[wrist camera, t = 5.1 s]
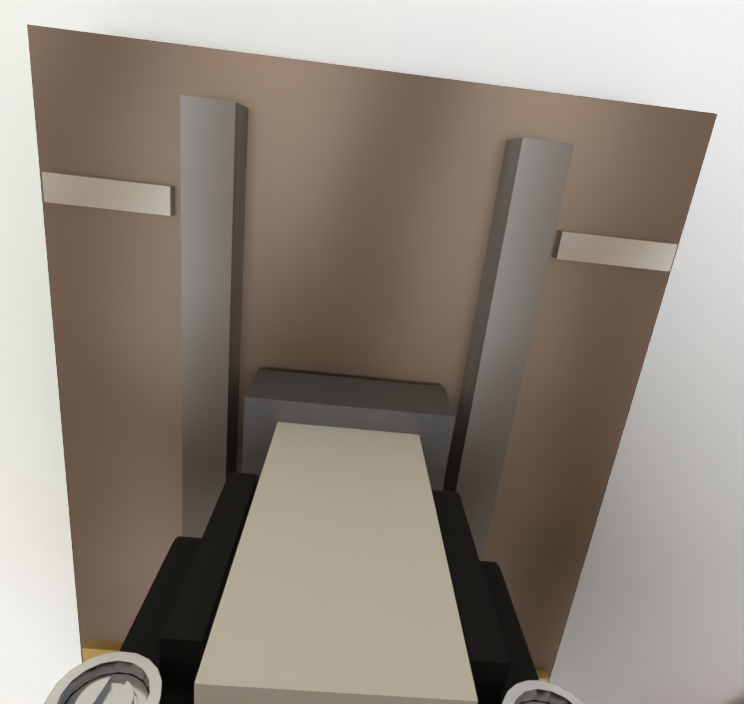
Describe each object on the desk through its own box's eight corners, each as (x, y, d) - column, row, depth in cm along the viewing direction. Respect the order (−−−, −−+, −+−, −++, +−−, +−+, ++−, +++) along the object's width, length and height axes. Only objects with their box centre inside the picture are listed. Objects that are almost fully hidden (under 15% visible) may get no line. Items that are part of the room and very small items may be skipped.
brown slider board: (644, 124, 14) (757, 108, 10) (490, 723, 21) (520, 851, 17) (98, 54, 13) (-14, 7, 9) (130, 701, 20) (74, 831, 16)
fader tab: (444, 387, 13) (552, 670, 6) (415, 557, 14) (470, 947, 7) (258, 369, 13) (122, 642, 5) (250, 544, 14) (138, 934, 7)
